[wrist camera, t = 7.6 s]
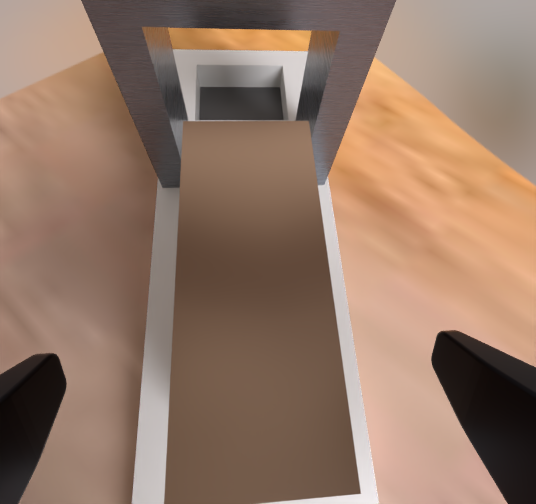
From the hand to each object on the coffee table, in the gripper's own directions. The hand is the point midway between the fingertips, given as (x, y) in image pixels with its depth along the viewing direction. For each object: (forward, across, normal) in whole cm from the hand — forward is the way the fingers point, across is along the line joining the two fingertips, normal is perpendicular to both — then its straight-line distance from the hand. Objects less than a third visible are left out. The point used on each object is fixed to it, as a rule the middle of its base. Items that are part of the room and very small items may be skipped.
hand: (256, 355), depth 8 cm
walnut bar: (+7, 0, +4) cm, 8 cm away
